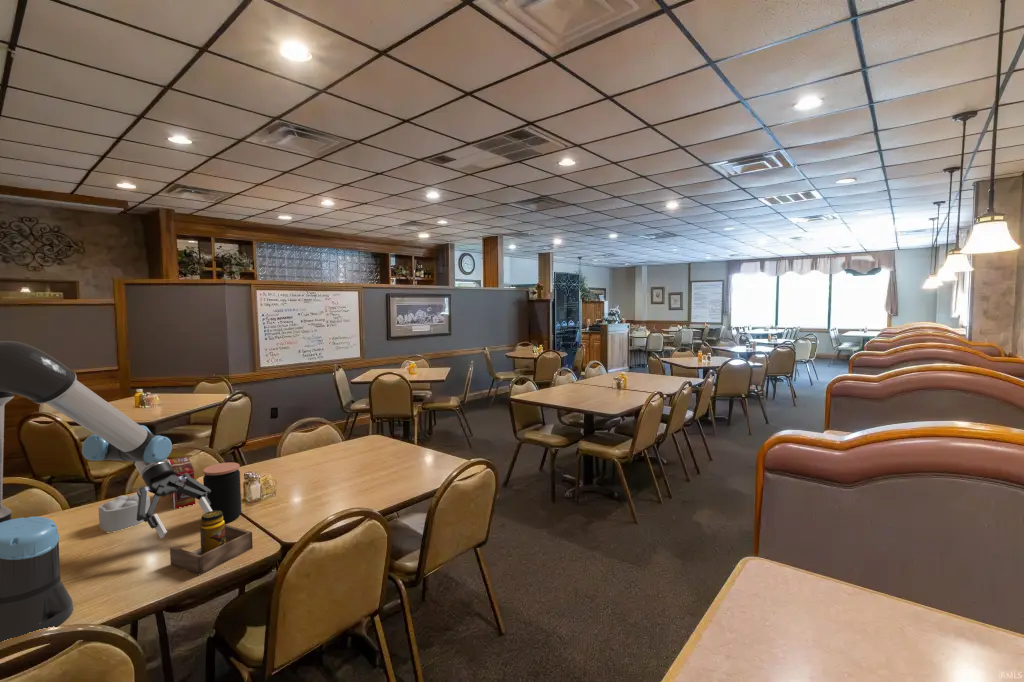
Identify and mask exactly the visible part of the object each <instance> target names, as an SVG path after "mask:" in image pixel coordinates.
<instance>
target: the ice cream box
mask: <svg viewBox="0 0 1024 682" xmlns="http://www.w3.org/2000/svg"><path fill="white" fill-rule="evenodd" d="M167 460H168V463H170V465H171V467H172V468H173V470H174V472H175V475H176V476H177V477H180V476H182V475H184V473H188V474H189V475H190V477H191V478H193V479H194V480H195V470H194V467H193V464H192V462H191V460H190V457H189V456H187V455H186V456H182V457H176V458H175V457H174V458H170V459H167ZM180 482H181V481H180ZM181 483H182V482H181ZM183 484H185V483H183ZM185 485H186V484H185ZM186 486H187V485H186ZM188 487H189V486H188ZM178 488H180V487H178ZM169 495H170V500H171V503H172V507H173V510H176V509H175V508H178V509H180V508H179V507H182V508H185V507H184V506H187V507H189V506H188V505H191V506H194V505H193V504H195V505H196V498H193V497H190V496H187V495H185V494H182V493H176V492H174V493H173V494H169Z"/></svg>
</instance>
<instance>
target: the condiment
mask: <svg viewBox="0 0 1024 682" xmlns="http://www.w3.org/2000/svg"><path fill="white" fill-rule="evenodd" d="M200 518H201V521H200V523H201V524H200V527H199V529H200V530H199V533H200V534H199V535H200V536H199V537H200V548H201V550H200V551H195V550H194V552H193V551H192V552H193V553H195V554H198V555H202V554H204V553H206V552H208V551H211V550H213V549H215V548H217V547H219V546H221V545H223V544H225V525H226V523H225V521H224V520H223V512H221V511H210V512H207V513H203V514H202V515H201V517H200Z"/></svg>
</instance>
